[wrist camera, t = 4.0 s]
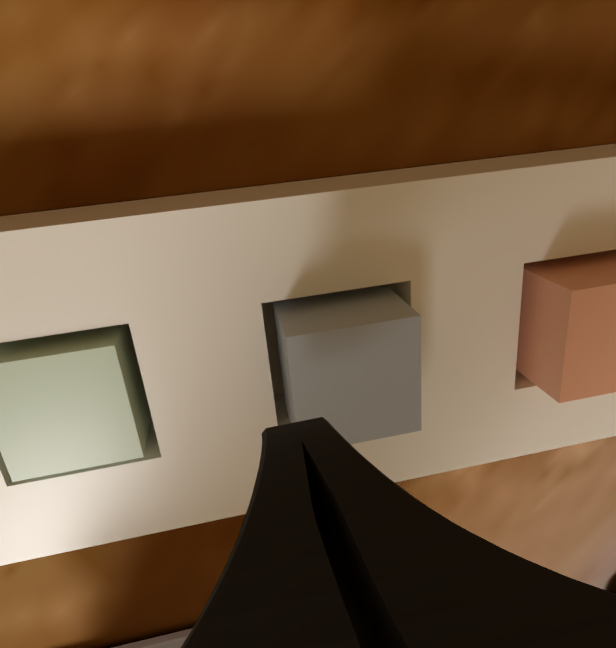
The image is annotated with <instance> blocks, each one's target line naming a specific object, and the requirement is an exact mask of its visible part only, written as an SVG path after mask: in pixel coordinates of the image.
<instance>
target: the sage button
mask: <svg viewBox="0 0 616 648" xmlns="http://www.w3.org/2000/svg"><path fill="white" fill-rule="evenodd" d="M150 418H151V412H150V408H149V404H148V400H147V396H146V392H145V388H144V384H143V380H142V376H141V372H140V367H139V363H138V359H137V355H136V351H135V347H134V343H133V339H132V335H131V331H130V327H129V323H128V324H121V325H115V326H108V327H102V328H95V329H88V330H82V331H75V332H69V333H62V334H55V335H49V336H42V337H36V338H29V339H23V340H16V341H9V342H3V343H0V452H1V454H2V457H3V460H4V462H5V465H6V467H7V470H8V472H9V475H10V477H11V480H12V482H16V481H21V480H26V479H31V478H37V477H42V476H47V475H53V474H58V473H63V472H68V471H74V470H79V469H84V468H90V467H95V466H100V465H105V464H111V463H116V462H121V461H126V460H132V459H137V458H142V457H144V453H145V447H146V441H147V436H148V430H149V424H150Z"/></svg>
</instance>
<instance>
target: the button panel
mask: <svg viewBox="0 0 616 648" xmlns="http://www.w3.org/2000/svg"><path fill="white" fill-rule="evenodd" d="M610 250H615V251H616V144H608V145H599V146H591V147H582V148H574V149H565V150H557V151H548V152H540V153H531V154H523V155H514V156H506V157H498V158H489V159H481V160H472V161H464V162H455V163H447V164H438V165H430V166H421V167H413V168H405V169H396V170H388V171H379V172H371V173H362V174H354V175H345V176H337V177H328V178H320V179H312V180H303V181H295V182H286V183H278V184H269V185H261V186H252V187H244V188H235V189H227V190H219V191H210V192H202V193H193V194H185V195H176V196H168V197H159V198H151V199H142V200H134V201H125V202H117V203H109V204H100V205H92V206H83V207H75V208H66V209H58V210H49V211H41V212H32V213H24V214H16V215H7V216H0V343H3V342H9V341H16V340H23V339H29V338H36V337H42V336H49V335H55V334H62V333H69V332H75V331H82V330H88V329H95V328H102V327H108V326H115V325H121V324H128V323H129V327H130V331H131V335H132V339H133V343H134V347H135V351H136V355H137V359H138V363H139V367H140V372H141V376H142V380H143V384H144V388H145V392H146V396H147V400H148V404H149V408H150V412H151V418H150V424H149V430H148V436H147V441H146V447H145V453H144V457H142V458H137V459H132V460H126V461H121V462H116V463H111V464H105V465H100V466H95V467H90V468H84V469H79V470H74V471H68V472H63V473H58V474H53V475H47V476H42V477H37V478H31V479H26V480H21V481H16V482H12V480H11V477H10V475H9V472H8V470H7V467H6V465H5V462H4V460H3V457H2V454H1V452H0V566H1V565H6V564H11V563H16V562H20V561H25V560H30V559H35V558H39V557H44V556H49V555H54V554H58V553H63V552H68V551H73V550H77V549H82V548H87V547H91V546H96V545H101V544H106V543H110V542H115V541H120V540H125V539H129V538H134V537H139V536H144V535H148V534H153V533H158V532H163V531H167V530H172V529H177V528H182V527H186V526H191V525H196V524H200V523H205V522H210V521H215V520H219V519H224V518H229V517H234V516H238V515H243V514H246V512H247V509H248V506H249V503H250V500H251V496H252V493H253V489H254V485H255V481H256V477H257V473H258V468H259V463H260V457H261V450H262V432H263V431H264V430H265V429H266V428H269V427H274V426H279V425H284V424H289V423H290V419H289V416H288V412H287V409H286V406H285V400H284V392H283V384H282V377H281V369H280V361H279V353H278V345H277V337H276V329H275V321H274V313H273V305H272V302H274V301H281V300H287V299H294V298H300V297H307V296H313V295H320V294H327V293H333V292H340V291H346V290H353V289H360V288H366V287H373V286H379V285H387V286H388V287H389V288H390V289H391V290H392V291H394V292H395V293H396V294H397V295H398V296H399V297H400V298H401V299H403V300H404V301H405V302H406V303H407V304H408V305H409V306H411V307H412V308H413V309H414V310H415V311H416V312H417V313H418V314H420V315H421V427H422V430H421V431H416V432H411V433H406V434H401V435H396V436H391V437H386V438H381V439H376V440H370V441H365V442H360V443H355V444H351V445H352V446H353V447H354V448H355V449H356V450H357V451H358V452H359V453H360V454H361V455H362V456H363V457H365V458H366V459H367V460H368V461H369V462H370V463H372V464H373V465H374V466H375V467H376V468H377V469H378V470H380V471H381V472H382V473H383V474H384V475H386V476H387V477H388V478H389V479H391V480H392V481H393V482H394V483H395V482H399V481H404V480H409V479H414V478H418V477H423V476H428V475H433V474H437V473H442V472H447V471H452V470H456V469H461V468H466V467H471V466H475V465H480V464H485V463H490V462H494V461H499V460H504V459H508V458H513V457H518V456H523V455H527V454H532V453H537V452H542V451H546V450H551V449H556V448H561V447H565V446H570V445H575V444H580V443H584V442H589V441H594V440H598V439H603V438H608V437H613V436H616V392H614V393H609V394H604V395H599V396H594V397H589V398H583V399H578V400H573V401H568V402H563V403H558V402H557V401H555V400H554V399H553V398H552V397H550V396H549V395H548V394H546V393H545V392H544V391H543V390H541V389H540V388H539V387H538V386H536V385H535V384H534V383H532V382H531V381H530V380H529V379H527V378H526V377H525V376H524V375H522V374H521V373H520V372H518V371H517V370H516V362H517V348H518V335H519V322H520V309H521V296H522V283H523V269H524V263H531V262H537V261H544V260H550V259H557V258H564V257H570V256H577V255H583V254H590V253H597V252H603V251H610Z"/></svg>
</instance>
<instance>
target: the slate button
mask: <svg viewBox="0 0 616 648" xmlns="http://www.w3.org/2000/svg"><path fill="white" fill-rule="evenodd" d="M272 305H273V313H274V321H275V329H276V337H277V345H278V353H279V361H280V369H281V377H282V384H283V392H284V400H285V406H286V409H287V412H288V416H289V419H290V423H294V422H299V421H304V420H309V419H314V418H319V417H323V418H325V419H326V420H327V421H328V422H329V423H330V424H331V425H332V426H333V427H334V428H335V429H336V430H337V431H338V433H339V434H340V435H341V436H342V437H343V438H344V439H345V440H346V441H347V442H349V443H350V444H355V443H360V442H365V441H370V440H376V439H381V438H386V437H391V436H396V435H401V434H406V433H411V432H416V431H421V430H422V427H421V315H420V314H418V313H417V312H416V311H415V310H414V309H413V308H412V307H411V306H409V305H408V304H407V303H406V302H405V301H404V300H403V299H401V298H400V297H399V296H398V295H397V294H396V293H395V292H394V291H392V290H391V289H390V288H389V287H388V286H387V285H379V286H373V287H366V288H360V289H353V290H346V291H340V292H333V293H327V294H320V295H313V296H307V297H300V298H294V299H287V300H281V301H274V302H272Z"/></svg>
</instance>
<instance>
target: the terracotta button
mask: <svg viewBox="0 0 616 648" xmlns="http://www.w3.org/2000/svg"><path fill="white" fill-rule="evenodd" d="M516 370H517V371H518V372H520V373H521V374H522V375H524V376H525V377H526V378H527V379H529V380H530V381H531V382H532V383H534V384H535V385H536V386H538V387H539V388H540V389H541V390H543V391H544V392H545V393H546V394H548V395H549V396H550V397H552V398H553V399H554V400H555V401H557V402H558V403H563V402H568V401H573V400H578V399H583V398H589V397H594V396H599V395H604V394H609V393H614V392H616V251H615V250H610V251H603V252H597V253H590V254H583V255H577V256H570V257H564V258H557V259H550V260H544V261H537V262H531V263H524V269H523V283H522V296H521V309H520V322H519V335H518V348H517V362H516Z"/></svg>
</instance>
